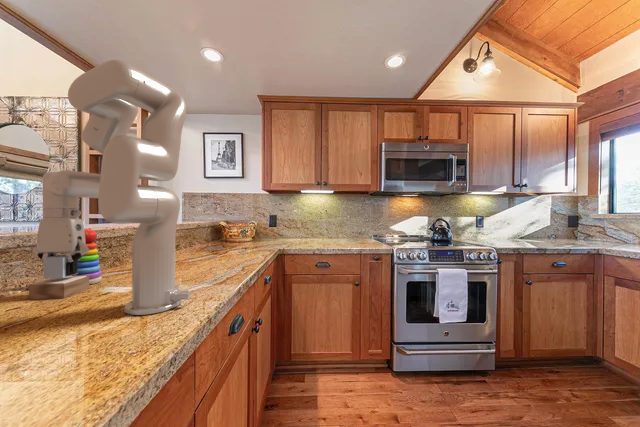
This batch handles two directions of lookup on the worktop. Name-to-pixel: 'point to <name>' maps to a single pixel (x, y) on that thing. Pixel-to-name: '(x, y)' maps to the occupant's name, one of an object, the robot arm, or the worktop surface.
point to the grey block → (55, 266)
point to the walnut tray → (58, 287)
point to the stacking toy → (89, 259)
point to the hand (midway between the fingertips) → (61, 274)
